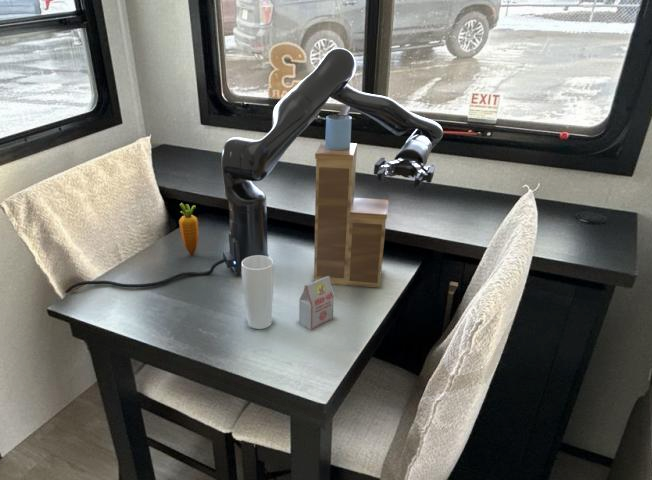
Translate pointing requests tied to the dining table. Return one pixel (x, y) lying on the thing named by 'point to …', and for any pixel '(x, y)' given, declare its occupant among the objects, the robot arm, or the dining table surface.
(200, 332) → the dining table surface
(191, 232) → the carrot
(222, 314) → the dining table surface
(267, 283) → the drinking glass
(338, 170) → the step stand
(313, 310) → the milk carton
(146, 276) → the dining table surface
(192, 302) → the dining table surface
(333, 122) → the pale blue saucepan
